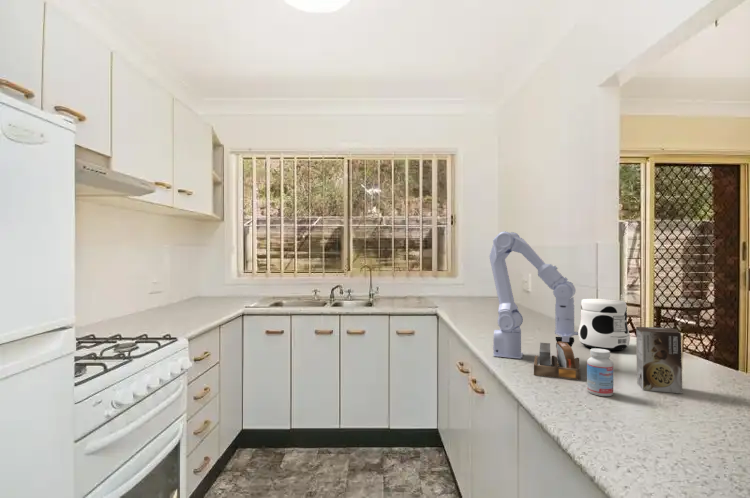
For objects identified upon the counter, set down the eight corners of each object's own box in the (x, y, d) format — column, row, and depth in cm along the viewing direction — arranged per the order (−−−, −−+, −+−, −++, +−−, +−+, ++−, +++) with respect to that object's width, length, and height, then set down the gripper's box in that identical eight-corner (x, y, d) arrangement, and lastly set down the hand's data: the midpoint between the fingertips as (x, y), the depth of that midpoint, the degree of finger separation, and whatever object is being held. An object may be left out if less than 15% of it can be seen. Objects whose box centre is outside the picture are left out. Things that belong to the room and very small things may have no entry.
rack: (533, 375, 124) (533, 352, 124) (535, 362, 138) (535, 341, 138) (582, 380, 119) (582, 356, 119) (579, 366, 133) (578, 344, 133)
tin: (576, 378, 120) (576, 350, 120) (564, 378, 121) (564, 349, 121) (565, 364, 135) (565, 338, 135) (555, 363, 136) (554, 338, 136)
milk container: (582, 340, 171) (582, 297, 171) (631, 346, 160) (631, 300, 160) (574, 349, 156) (574, 301, 157) (627, 355, 146) (627, 305, 146)
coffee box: (673, 386, 114) (673, 327, 114) (682, 394, 107) (682, 332, 108) (635, 383, 117) (635, 326, 117) (642, 390, 110) (642, 330, 110)
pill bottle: (603, 398, 105) (603, 354, 105) (582, 391, 110) (581, 349, 110) (618, 394, 107) (618, 351, 107) (596, 387, 113) (596, 346, 113)
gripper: (579, 322, 128) (579, 366, 128) (576, 315, 142) (576, 355, 142) (555, 321, 131) (555, 364, 131) (554, 314, 144) (554, 353, 144)
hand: (564, 359), depth 136 cm, fingers closed
